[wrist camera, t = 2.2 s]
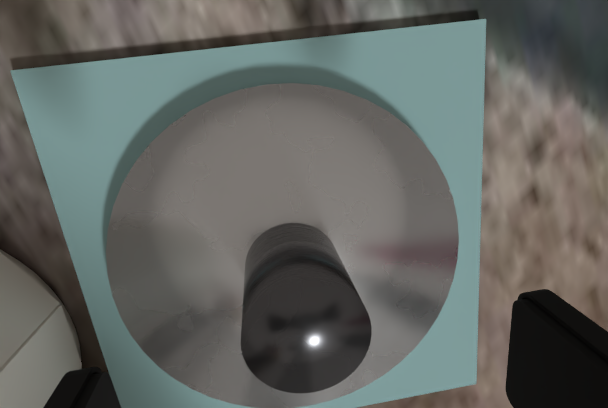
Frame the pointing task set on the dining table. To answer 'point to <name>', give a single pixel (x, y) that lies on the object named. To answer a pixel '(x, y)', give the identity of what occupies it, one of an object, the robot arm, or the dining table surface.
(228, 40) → the dining table surface
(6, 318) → the white faceted bowl
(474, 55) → the teal mat
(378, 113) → the metal lid
